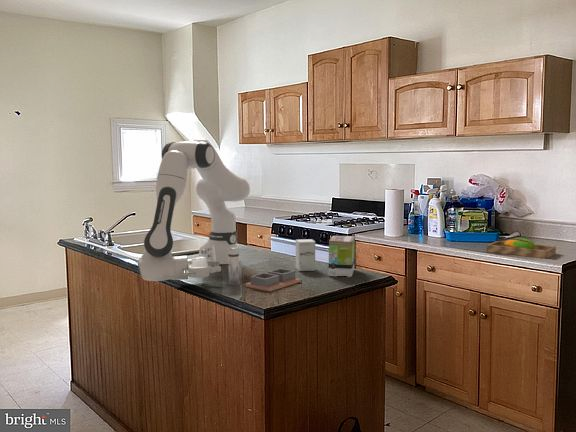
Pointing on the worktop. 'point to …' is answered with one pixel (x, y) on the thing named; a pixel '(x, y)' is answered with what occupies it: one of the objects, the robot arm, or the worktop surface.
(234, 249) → the grey capped bottle
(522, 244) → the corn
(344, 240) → the tea box
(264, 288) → the grey double cup holder
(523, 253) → the wooden tray
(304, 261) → the supplement box
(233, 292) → the worktop surface
